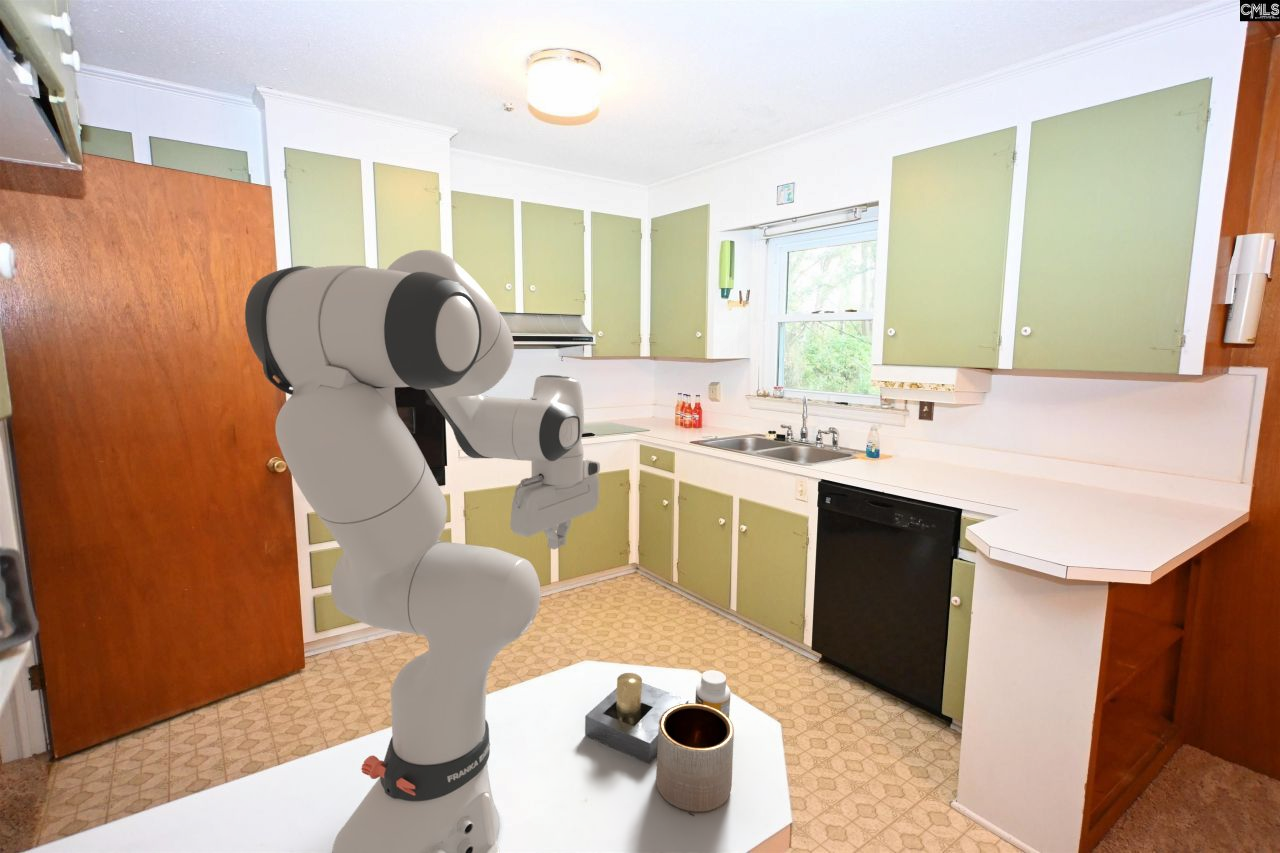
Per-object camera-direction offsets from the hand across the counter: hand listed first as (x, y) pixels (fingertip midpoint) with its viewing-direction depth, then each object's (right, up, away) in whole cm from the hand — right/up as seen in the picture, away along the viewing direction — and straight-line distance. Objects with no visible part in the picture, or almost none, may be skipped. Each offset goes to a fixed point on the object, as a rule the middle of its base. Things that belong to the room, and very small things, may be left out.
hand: (557, 546), depth 105 cm
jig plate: (+14, -29, -6) cm, 33 cm away
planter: (+22, -31, -18) cm, 42 cm away
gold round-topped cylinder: (+13, -29, -7) cm, 32 cm away
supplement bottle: (+26, -30, -7) cm, 40 cm away
